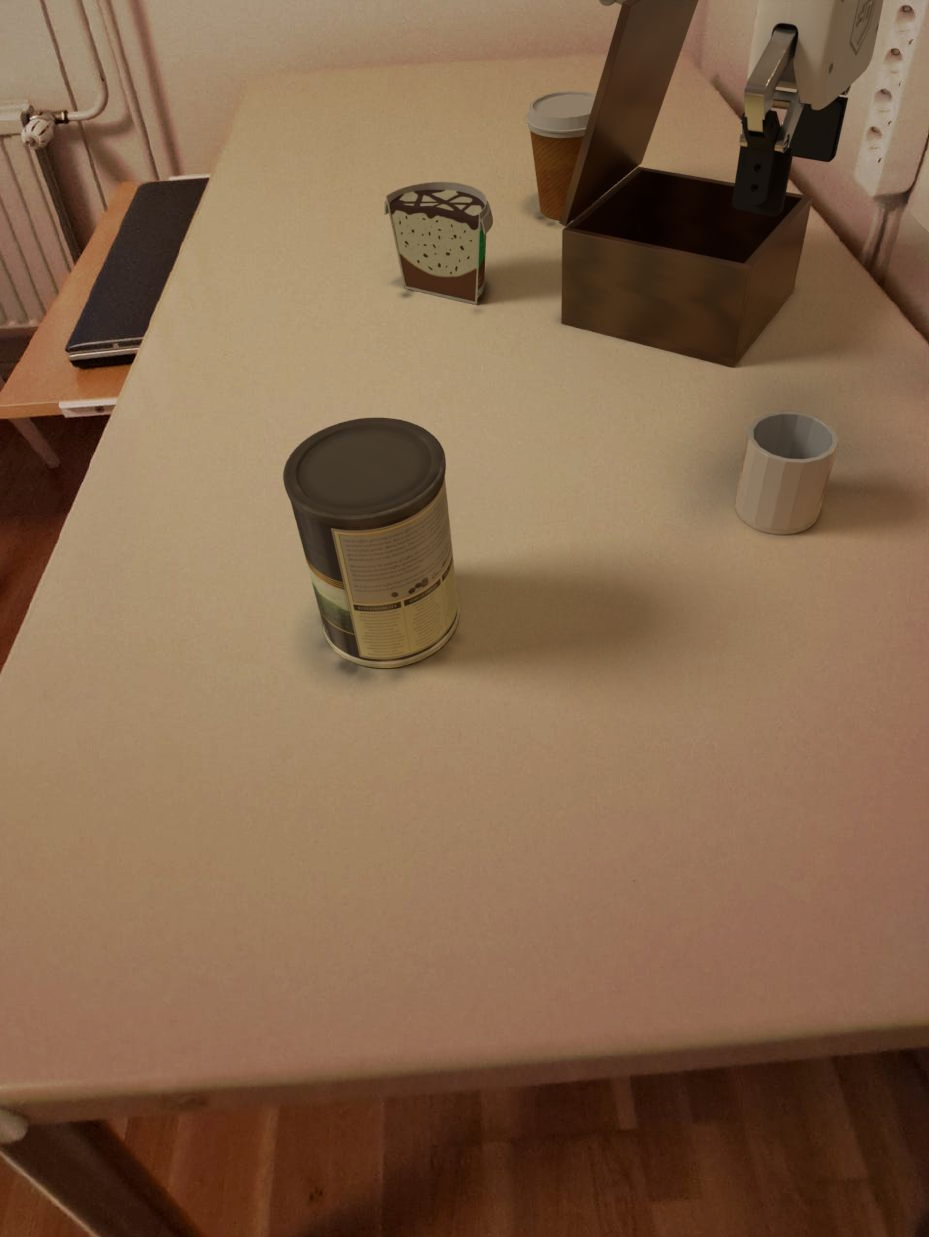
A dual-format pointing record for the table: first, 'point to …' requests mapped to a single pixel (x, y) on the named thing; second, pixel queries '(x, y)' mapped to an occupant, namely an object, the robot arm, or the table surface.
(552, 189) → the disposable coffee cup
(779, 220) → the storage chest
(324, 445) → the coffee can
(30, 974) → the table surface
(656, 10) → the chest lid
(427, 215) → the food container
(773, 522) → the white cup
